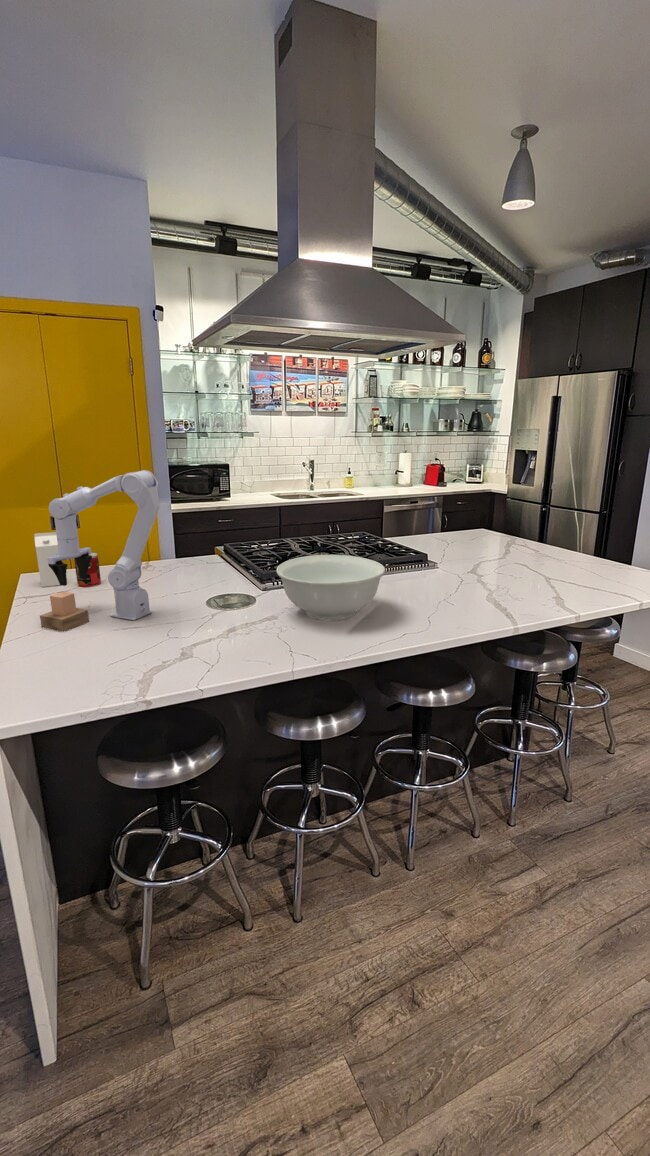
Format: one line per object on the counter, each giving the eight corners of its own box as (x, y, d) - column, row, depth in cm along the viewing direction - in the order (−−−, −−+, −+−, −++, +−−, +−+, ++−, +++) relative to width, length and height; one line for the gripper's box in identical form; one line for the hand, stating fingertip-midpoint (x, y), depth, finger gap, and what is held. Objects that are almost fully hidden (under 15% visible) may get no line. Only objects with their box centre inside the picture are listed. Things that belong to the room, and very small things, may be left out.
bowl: (377, 635, 150) (378, 584, 146) (264, 627, 157) (262, 578, 153) (388, 599, 181) (389, 556, 177) (293, 594, 187) (292, 552, 183)
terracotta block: (76, 611, 161) (74, 593, 159) (64, 616, 157) (61, 597, 155) (65, 609, 163) (62, 591, 161) (52, 614, 159) (49, 596, 157)
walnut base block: (89, 622, 163) (87, 610, 162) (64, 633, 155) (62, 619, 154) (67, 618, 167) (65, 606, 165) (41, 628, 159) (39, 615, 158)
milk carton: (42, 582, 204) (34, 532, 199) (63, 580, 207) (56, 530, 202) (41, 587, 198) (33, 535, 192) (63, 585, 200) (56, 533, 195)
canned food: (73, 585, 200) (69, 556, 197) (91, 580, 206) (87, 551, 203) (87, 588, 196) (83, 558, 193) (105, 582, 203) (102, 553, 200)
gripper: (77, 532, 172) (82, 574, 176) (37, 541, 159) (44, 586, 163) (94, 534, 169) (99, 577, 173) (54, 543, 157) (61, 589, 160)
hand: (73, 581), depth 168 cm, fingers open, 7 cm apart
